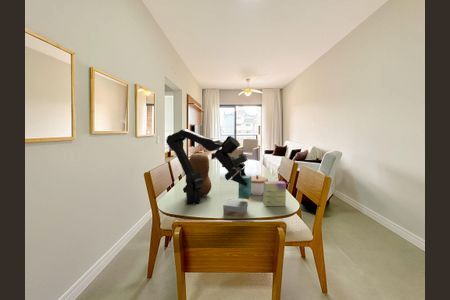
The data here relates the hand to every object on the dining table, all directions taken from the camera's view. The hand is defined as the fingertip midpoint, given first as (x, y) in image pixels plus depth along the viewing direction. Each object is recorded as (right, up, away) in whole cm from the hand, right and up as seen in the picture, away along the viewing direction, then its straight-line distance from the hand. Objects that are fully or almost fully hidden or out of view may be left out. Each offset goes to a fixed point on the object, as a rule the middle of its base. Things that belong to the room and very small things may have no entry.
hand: (247, 183), depth 110 cm
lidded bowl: (+9, -10, +30) cm, 33 cm away
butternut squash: (-26, -11, +26) cm, 38 cm away
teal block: (-1, -7, +1) cm, 7 cm away
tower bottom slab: (-6, -14, -1) cm, 15 cm away
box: (+15, -12, +10) cm, 22 cm away
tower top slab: (-6, -11, -1) cm, 13 cm away
